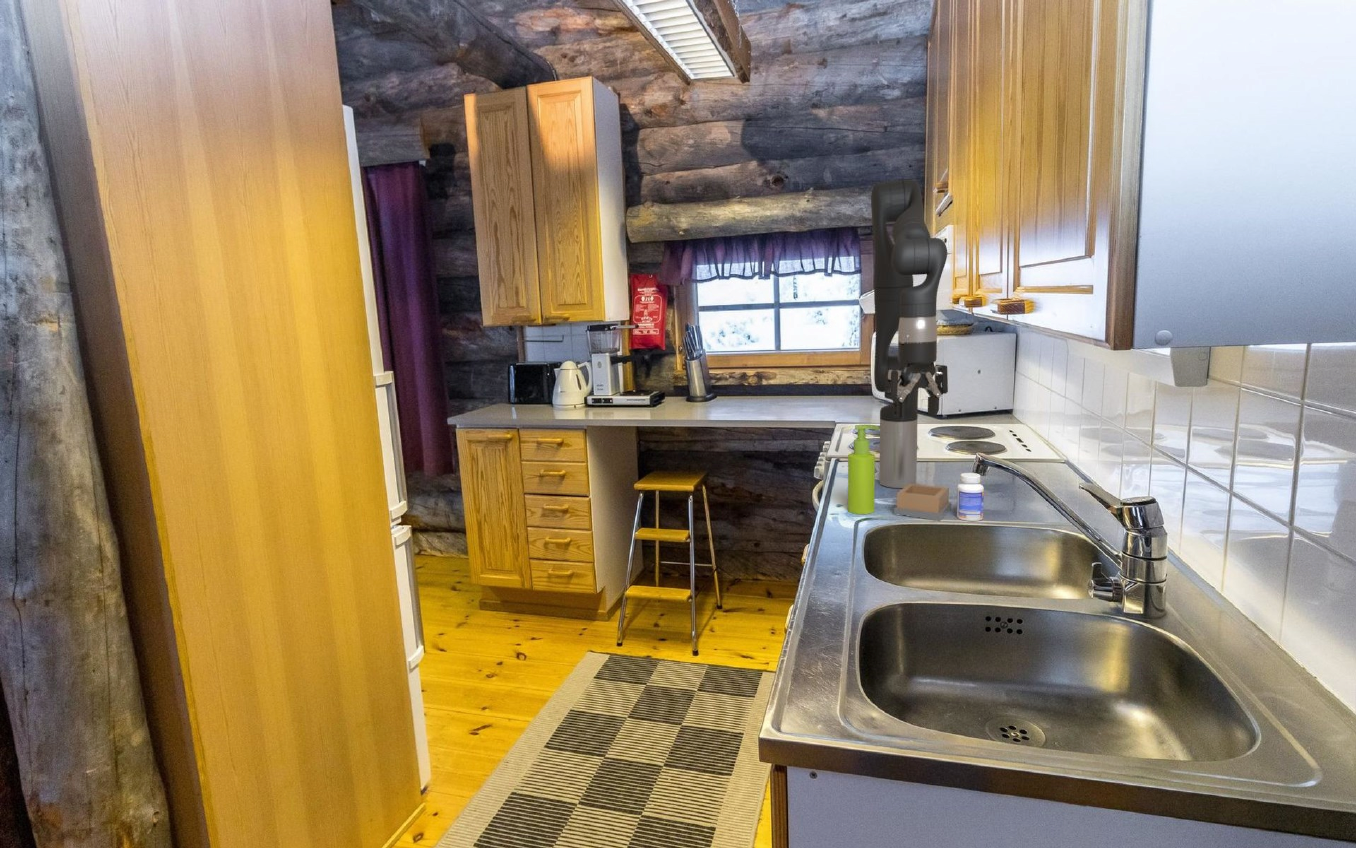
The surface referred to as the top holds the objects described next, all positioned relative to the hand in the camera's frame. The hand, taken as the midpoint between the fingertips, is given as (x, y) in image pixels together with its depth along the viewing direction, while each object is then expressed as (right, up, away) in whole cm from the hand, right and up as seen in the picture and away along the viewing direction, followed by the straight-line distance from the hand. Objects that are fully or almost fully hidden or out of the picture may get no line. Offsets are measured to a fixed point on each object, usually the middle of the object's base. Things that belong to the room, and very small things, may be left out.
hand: (916, 417), depth 146 cm
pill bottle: (+14, -22, +7) cm, 27 cm away
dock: (+6, -21, +12) cm, 25 cm away
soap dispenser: (-7, -22, +15) cm, 27 cm away
